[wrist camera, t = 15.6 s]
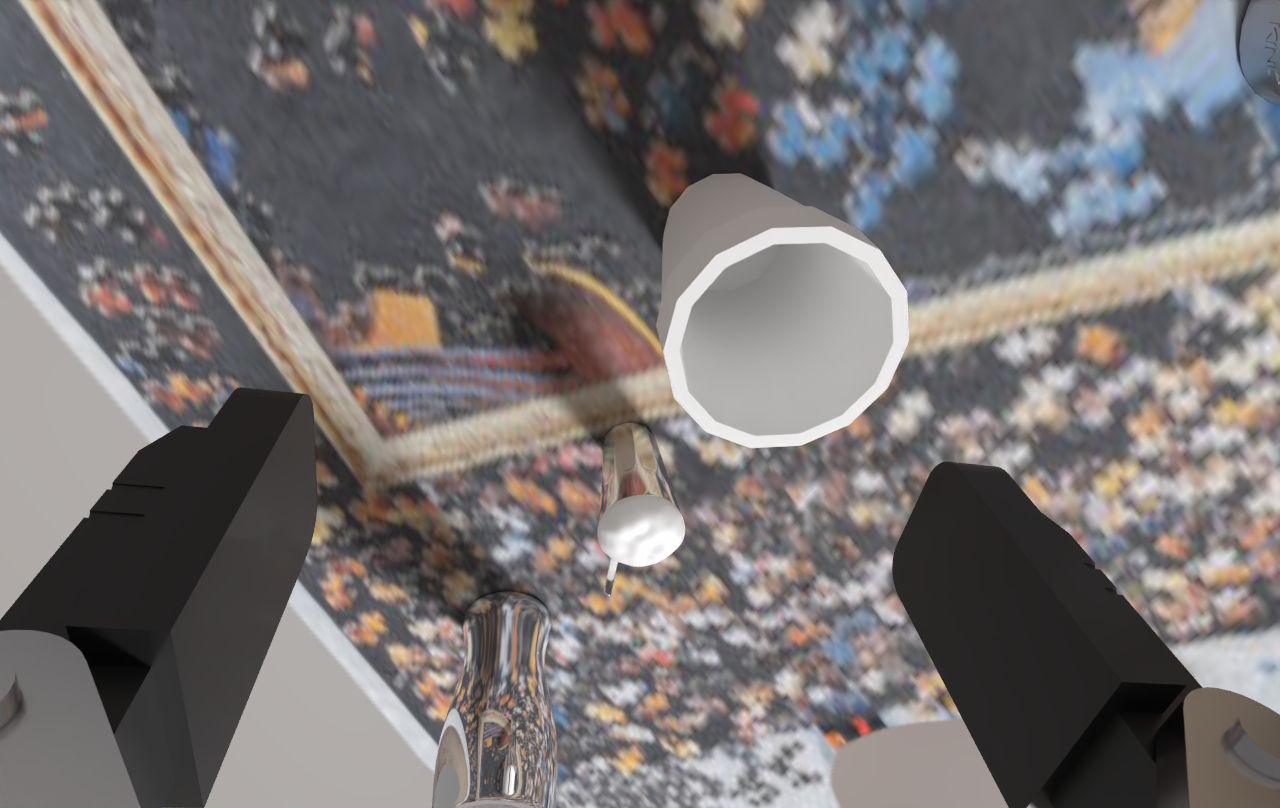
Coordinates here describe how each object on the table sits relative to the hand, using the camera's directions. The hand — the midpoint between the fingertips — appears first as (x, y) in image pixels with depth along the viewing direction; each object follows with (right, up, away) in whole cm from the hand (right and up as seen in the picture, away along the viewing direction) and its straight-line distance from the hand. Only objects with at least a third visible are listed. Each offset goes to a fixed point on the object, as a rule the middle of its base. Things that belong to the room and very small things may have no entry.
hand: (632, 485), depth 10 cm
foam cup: (+4, +10, +30) cm, 32 cm away
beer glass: (-9, -14, +43) cm, 47 cm away
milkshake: (-1, -2, +37) cm, 37 cm away
